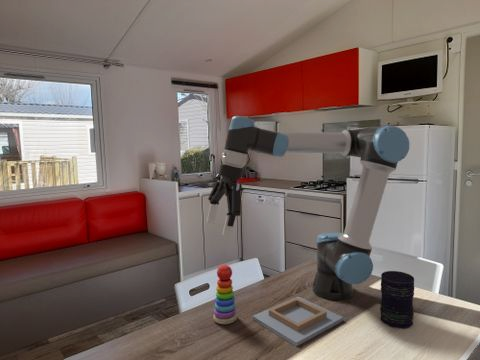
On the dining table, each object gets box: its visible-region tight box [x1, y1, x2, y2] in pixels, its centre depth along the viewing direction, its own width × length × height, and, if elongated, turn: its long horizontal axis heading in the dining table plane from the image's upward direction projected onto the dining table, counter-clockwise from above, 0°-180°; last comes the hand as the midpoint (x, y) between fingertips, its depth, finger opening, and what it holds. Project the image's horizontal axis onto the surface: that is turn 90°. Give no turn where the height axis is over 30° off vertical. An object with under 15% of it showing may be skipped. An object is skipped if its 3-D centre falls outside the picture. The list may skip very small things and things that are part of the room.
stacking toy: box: [212, 264, 238, 325], centre depth 116 cm, size 8×8×19 cm
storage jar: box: [379, 270, 415, 330], centre depth 112 cm, size 10×10×15 cm
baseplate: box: [252, 296, 344, 347], centre depth 115 cm, size 22×20×3 cm
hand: (217, 229), depth 113 cm, fingers open, 13 cm apart
